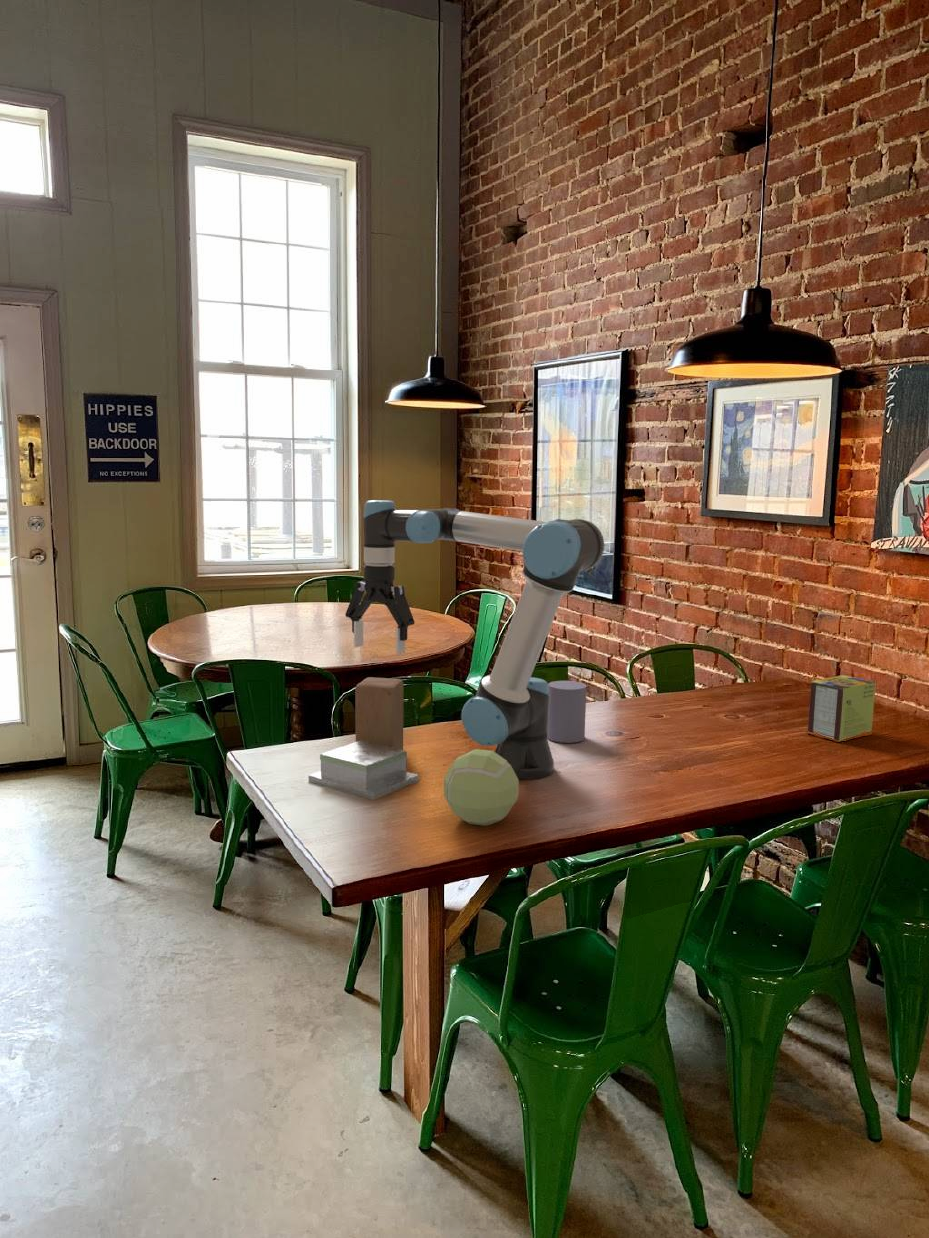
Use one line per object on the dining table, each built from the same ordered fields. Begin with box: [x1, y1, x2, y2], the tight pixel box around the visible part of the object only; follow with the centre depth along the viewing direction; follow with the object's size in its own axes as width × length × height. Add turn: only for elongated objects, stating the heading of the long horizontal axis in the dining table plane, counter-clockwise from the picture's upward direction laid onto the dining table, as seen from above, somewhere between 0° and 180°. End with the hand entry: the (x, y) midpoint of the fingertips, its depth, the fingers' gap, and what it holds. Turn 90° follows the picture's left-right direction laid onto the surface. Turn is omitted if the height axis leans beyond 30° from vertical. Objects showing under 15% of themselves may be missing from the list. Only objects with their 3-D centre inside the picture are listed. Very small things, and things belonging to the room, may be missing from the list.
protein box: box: [807, 674, 877, 741], centre depth 261 cm, size 10×15×16 cm
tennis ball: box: [443, 748, 520, 827], centre depth 193 cm, size 15×15×15 cm
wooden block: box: [354, 676, 404, 750], centre depth 233 cm, size 10×10×20 cm
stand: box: [308, 740, 419, 801], centre depth 218 cm, size 20×16×7 cm
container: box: [547, 680, 587, 744], centre depth 254 cm, size 10×10×15 cm
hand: (379, 650), depth 231 cm, fingers open, 13 cm apart
